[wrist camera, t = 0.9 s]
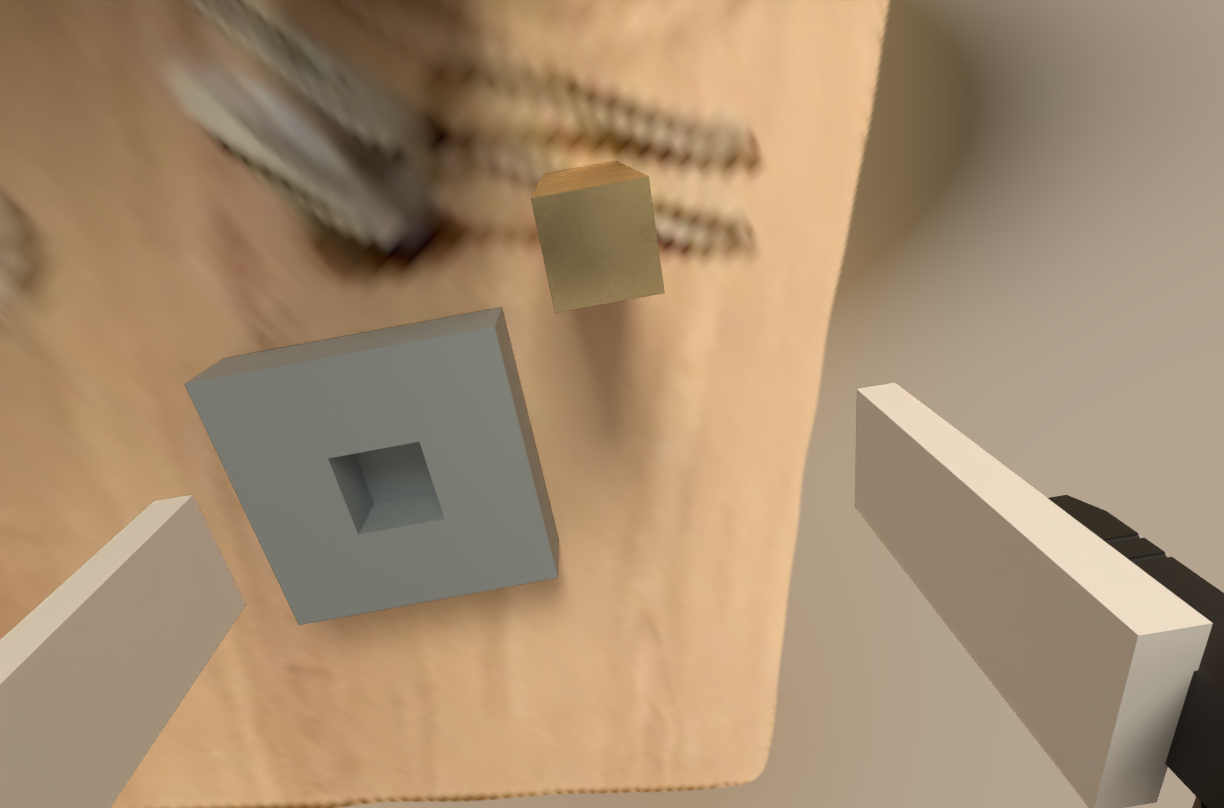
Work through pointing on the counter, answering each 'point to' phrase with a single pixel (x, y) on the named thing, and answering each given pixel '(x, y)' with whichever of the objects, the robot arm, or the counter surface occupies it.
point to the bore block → (385, 464)
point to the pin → (597, 235)
